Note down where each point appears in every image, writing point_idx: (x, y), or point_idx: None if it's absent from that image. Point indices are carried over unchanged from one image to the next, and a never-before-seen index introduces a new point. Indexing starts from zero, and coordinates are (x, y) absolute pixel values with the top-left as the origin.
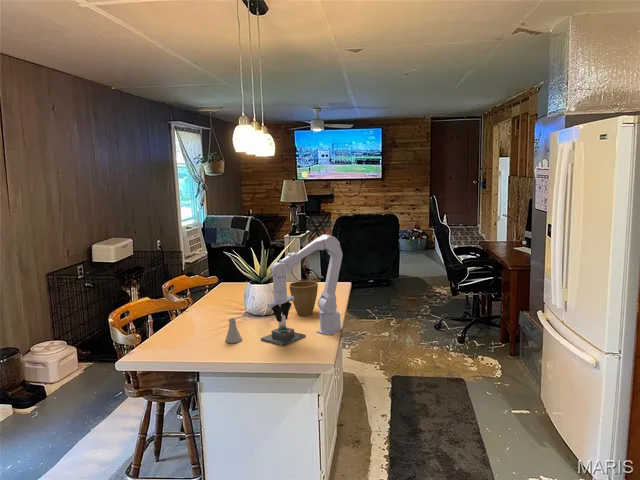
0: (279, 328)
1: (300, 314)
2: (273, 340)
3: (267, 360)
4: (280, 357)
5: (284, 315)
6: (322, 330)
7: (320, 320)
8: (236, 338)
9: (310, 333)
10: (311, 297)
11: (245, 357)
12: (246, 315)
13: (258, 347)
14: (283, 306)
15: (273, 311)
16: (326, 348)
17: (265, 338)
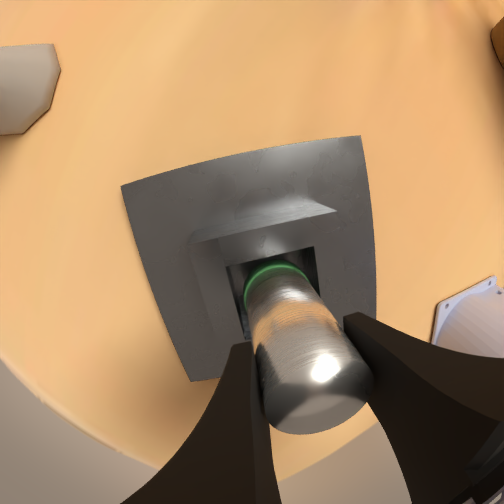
0: (246, 307)
1: (499, 52)
2: (170, 296)
3: (84, 420)
4: (132, 434)
5: (324, 428)
6: (443, 340)
7: (477, 353)
8: (4, 125)
9: (417, 296)
10: None
11: (16, 346)
12: None
13: (73, 291)
14: (437, 453)
15: (179, 458)
16: (313, 453)
17: (143, 218)
